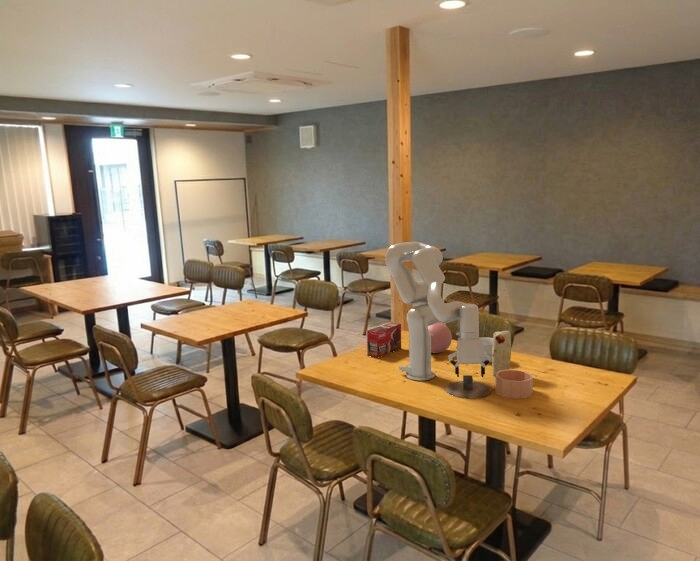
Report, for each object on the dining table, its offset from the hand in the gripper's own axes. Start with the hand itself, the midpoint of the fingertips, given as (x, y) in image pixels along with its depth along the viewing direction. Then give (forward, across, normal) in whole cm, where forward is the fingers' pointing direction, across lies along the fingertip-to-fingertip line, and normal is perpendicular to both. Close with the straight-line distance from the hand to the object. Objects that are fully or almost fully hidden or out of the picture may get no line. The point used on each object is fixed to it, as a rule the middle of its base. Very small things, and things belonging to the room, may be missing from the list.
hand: (470, 376), depth 220 cm
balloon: (+5, -16, +50) cm, 52 cm away
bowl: (+7, +17, +1) cm, 18 cm away
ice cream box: (+4, -40, +49) cm, 64 cm away
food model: (+6, +14, +21) cm, 26 cm away
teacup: (+6, +8, +41) cm, 42 cm away
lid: (+7, -1, +1) cm, 7 cm away
